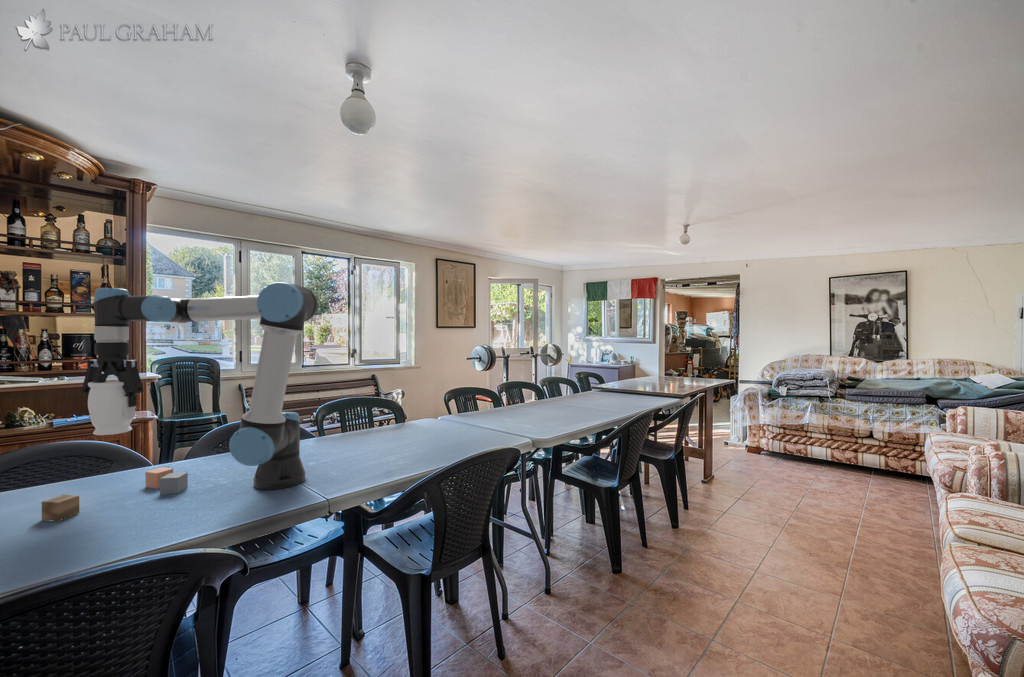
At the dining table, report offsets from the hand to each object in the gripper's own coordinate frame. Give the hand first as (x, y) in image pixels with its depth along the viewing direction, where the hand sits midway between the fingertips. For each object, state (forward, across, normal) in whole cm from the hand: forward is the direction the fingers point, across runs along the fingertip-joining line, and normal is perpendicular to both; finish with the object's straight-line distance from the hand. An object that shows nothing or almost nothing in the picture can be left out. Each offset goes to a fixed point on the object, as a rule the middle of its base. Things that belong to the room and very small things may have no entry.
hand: (112, 417), depth 129 cm
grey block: (+24, -11, -9) cm, 28 cm away
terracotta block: (+24, -2, -13) cm, 28 cm away
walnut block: (+24, +2, +12) cm, 27 cm away
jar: (+4, 0, 0) cm, 4 cm away
